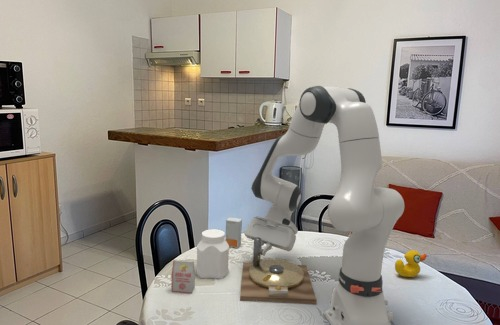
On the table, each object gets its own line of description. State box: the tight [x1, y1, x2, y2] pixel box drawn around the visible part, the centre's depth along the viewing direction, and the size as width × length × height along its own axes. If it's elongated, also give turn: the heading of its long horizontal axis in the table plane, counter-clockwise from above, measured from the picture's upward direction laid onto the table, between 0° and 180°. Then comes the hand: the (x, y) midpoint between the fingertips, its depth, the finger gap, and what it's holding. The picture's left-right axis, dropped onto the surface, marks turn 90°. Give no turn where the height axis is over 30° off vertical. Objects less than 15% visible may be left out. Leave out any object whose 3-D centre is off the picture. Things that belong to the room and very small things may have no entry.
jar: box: [196, 228, 230, 280], centre depth 131 cm, size 12×10×15 cm
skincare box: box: [225, 216, 243, 249], centre depth 155 cm, size 6×4×12 cm
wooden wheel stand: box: [239, 262, 317, 305], centre depth 125 cm, size 24×24×4 cm
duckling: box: [394, 249, 427, 278], centre depth 134 cm, size 11×5×10 cm, turn 96°
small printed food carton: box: [171, 260, 196, 294], centre depth 118 cm, size 4×7×10 cm, turn 85°
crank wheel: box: [249, 237, 304, 289], centre depth 126 cm, size 19×19×12 cm
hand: (260, 254), depth 132 cm, fingers closed, pressing on crank wheel
